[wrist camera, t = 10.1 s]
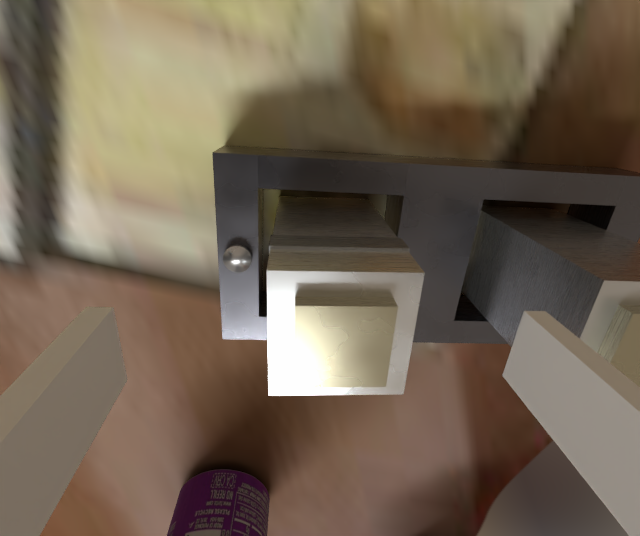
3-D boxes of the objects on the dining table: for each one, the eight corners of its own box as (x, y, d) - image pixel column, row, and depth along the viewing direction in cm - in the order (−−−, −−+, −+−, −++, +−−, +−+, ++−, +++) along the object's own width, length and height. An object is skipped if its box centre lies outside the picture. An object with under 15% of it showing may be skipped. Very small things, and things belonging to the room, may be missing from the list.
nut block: (278, 278, 22) (265, 410, 13) (278, 194, 20) (263, 275, 11) (360, 279, 23) (408, 408, 13) (369, 197, 21) (433, 278, 11)
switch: (231, 311, 23) (185, 459, 14) (224, 145, 19) (151, 187, 9) (559, 318, 25) (727, 454, 15) (617, 168, 21) (893, 223, 11)
